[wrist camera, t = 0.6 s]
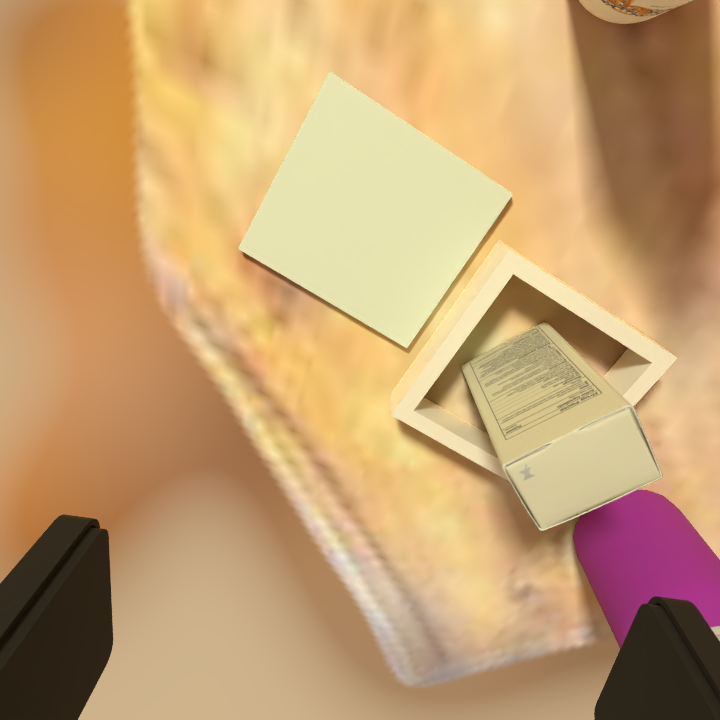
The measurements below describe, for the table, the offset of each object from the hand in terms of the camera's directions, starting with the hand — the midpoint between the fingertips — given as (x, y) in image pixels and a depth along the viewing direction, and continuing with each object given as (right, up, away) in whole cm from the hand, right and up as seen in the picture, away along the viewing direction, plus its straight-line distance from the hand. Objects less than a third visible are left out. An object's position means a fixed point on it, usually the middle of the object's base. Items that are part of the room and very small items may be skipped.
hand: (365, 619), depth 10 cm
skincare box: (+10, +4, +26) cm, 28 cm away
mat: (+1, +13, +23) cm, 26 cm away
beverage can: (+19, -7, +30) cm, 37 cm away
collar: (+10, +4, +26) cm, 28 cm away
